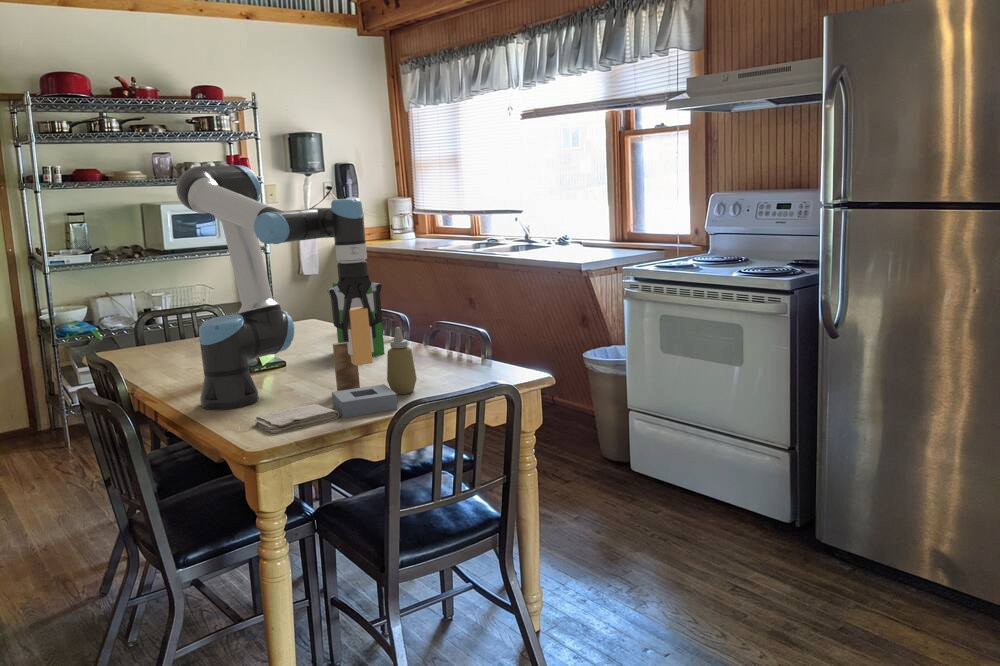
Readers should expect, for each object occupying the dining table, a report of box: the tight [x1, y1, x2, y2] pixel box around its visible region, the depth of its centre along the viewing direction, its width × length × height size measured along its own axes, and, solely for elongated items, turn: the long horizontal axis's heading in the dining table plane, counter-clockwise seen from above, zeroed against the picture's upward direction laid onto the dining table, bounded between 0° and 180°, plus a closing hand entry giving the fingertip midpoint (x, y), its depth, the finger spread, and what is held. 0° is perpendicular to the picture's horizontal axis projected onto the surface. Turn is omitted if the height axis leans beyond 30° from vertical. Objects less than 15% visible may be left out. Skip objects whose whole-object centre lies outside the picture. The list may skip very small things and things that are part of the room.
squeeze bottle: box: [386, 326, 417, 395], centre depth 229 cm, size 8×8×18 cm
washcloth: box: [254, 403, 340, 434], centre depth 208 cm, size 12×18×3 cm, turn 129°
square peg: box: [348, 307, 373, 366], centre depth 213 cm, size 4×4×14 cm
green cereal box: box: [332, 282, 385, 358], centre depth 285 cm, size 18×7×24 cm, turn 40°
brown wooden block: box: [332, 342, 361, 391], centre depth 233 cm, size 6×2×14 cm, turn 112°
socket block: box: [331, 383, 399, 419], centre depth 216 cm, size 14×12×4 cm
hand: (360, 352), depth 214 cm, fingers closed on square peg, 4 cm apart
